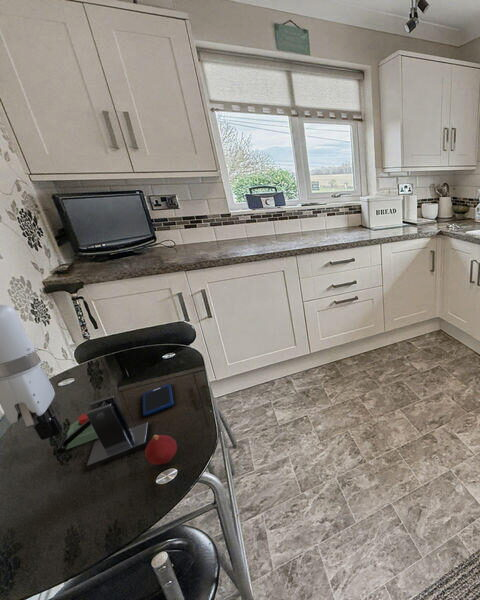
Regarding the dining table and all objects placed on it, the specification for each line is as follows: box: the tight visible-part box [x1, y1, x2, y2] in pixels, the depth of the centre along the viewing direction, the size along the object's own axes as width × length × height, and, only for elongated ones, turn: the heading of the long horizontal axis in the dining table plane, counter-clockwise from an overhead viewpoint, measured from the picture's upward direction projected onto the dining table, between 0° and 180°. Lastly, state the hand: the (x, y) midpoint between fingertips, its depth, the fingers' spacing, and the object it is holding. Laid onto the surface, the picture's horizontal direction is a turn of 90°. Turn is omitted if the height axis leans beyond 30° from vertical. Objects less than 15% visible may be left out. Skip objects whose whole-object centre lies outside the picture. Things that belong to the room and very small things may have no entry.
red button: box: [77, 412, 88, 425], centre depth 86 cm, size 4×4×2 cm
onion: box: [144, 434, 178, 466], centre depth 73 cm, size 6×6×8 cm
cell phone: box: [142, 383, 175, 417], centre depth 98 cm, size 7×14×1 cm, turn 38°
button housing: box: [66, 419, 99, 450], centre depth 87 cm, size 10×8×4 cm
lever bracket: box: [85, 395, 150, 470], centre depth 79 cm, size 11×9×13 cm
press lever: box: [55, 401, 114, 455], centre depth 76 cm, size 12×5×2 cm
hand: (52, 434), depth 73 cm, fingers closed
